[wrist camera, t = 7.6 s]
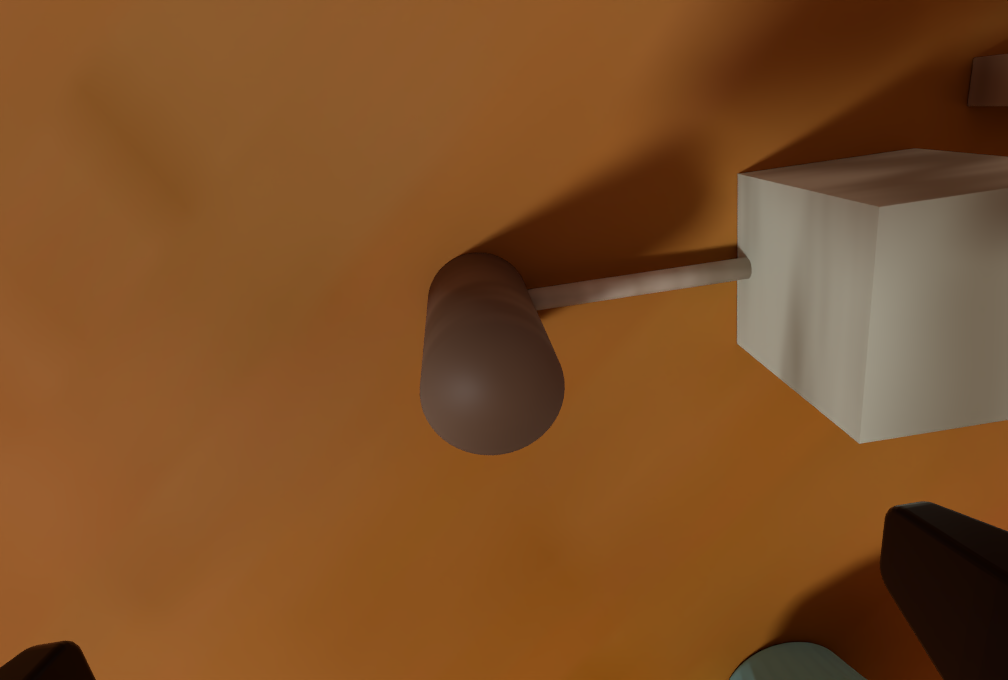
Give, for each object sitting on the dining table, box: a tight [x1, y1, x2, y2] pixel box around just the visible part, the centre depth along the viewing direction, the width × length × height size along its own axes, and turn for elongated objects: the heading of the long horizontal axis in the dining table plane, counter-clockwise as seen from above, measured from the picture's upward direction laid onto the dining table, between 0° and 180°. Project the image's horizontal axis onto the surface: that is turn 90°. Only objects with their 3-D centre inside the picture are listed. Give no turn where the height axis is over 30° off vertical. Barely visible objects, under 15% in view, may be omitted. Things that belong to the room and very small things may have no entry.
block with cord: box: [420, 148, 1008, 455], centre depth 15 cm, size 14×5×6 cm, turn 97°
